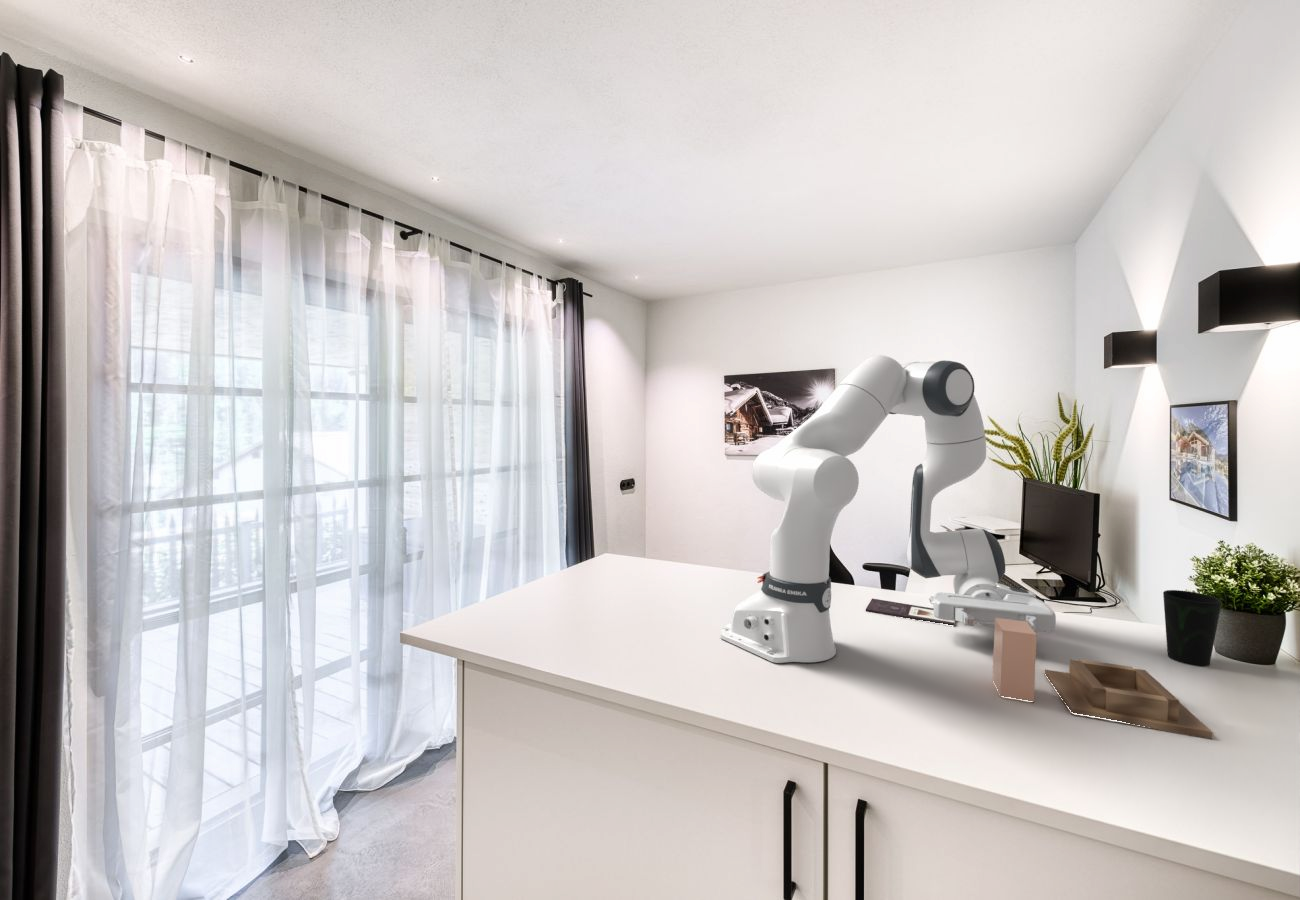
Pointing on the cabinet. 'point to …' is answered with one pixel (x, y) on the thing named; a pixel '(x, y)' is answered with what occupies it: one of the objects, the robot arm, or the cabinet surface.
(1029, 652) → the peach rectangular block
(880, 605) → the chocolate bar
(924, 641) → the cabinet surface
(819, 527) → the robot arm
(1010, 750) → the cabinet surface
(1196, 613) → the cup
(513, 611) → the cabinet surface
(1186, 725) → the wooden tray with base
